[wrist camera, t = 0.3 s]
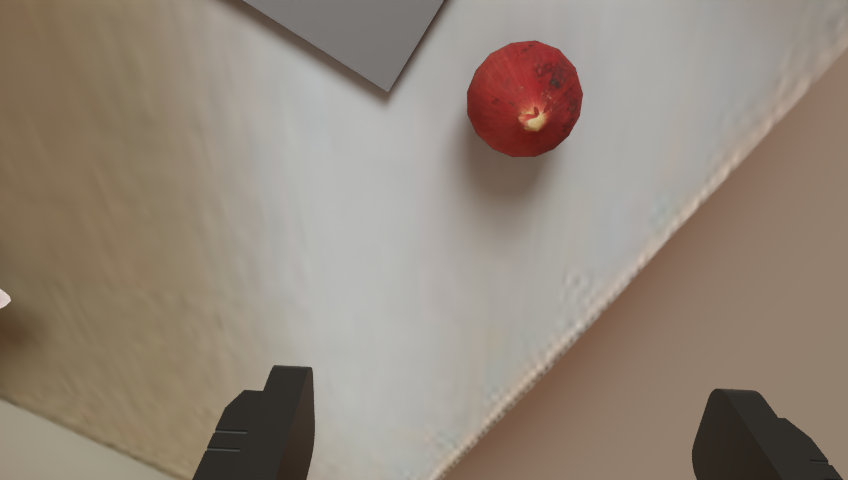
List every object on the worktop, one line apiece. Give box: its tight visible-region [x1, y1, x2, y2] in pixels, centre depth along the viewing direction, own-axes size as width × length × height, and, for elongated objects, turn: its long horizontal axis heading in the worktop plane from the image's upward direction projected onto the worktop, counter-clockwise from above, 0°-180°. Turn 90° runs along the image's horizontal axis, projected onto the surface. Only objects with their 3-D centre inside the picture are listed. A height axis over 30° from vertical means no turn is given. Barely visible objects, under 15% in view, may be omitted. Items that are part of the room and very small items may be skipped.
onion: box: [467, 41, 583, 157], centre depth 31 cm, size 6×6×8 cm
